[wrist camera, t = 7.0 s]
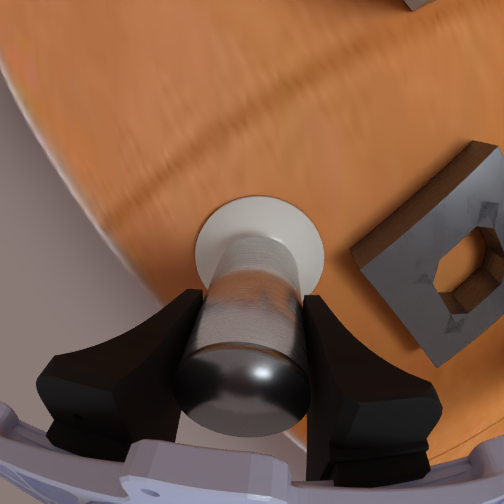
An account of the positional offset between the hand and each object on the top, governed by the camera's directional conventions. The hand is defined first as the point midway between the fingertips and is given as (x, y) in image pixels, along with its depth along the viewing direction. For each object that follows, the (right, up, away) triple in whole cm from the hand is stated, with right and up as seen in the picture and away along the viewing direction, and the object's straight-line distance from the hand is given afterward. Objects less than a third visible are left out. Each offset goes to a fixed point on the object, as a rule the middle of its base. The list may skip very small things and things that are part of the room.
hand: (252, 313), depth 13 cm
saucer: (0, +2, +5) cm, 5 cm away
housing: (+12, +2, +4) cm, 13 cm away
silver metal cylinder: (0, +1, +3) cm, 3 cm away
